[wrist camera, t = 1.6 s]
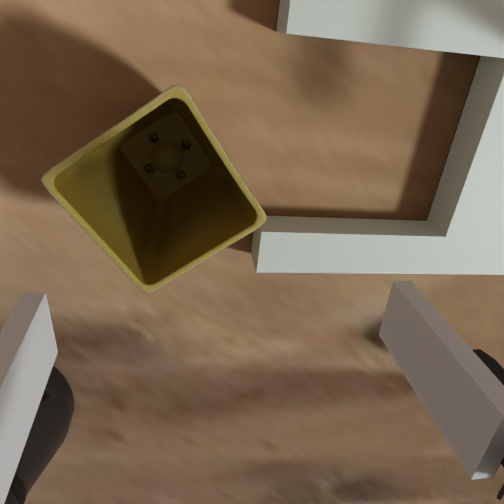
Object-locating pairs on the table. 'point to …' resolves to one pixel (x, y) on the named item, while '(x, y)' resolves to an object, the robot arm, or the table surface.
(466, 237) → the l-shaped hook stand
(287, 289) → the table surface
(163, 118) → the flower pot
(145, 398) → the table surface
